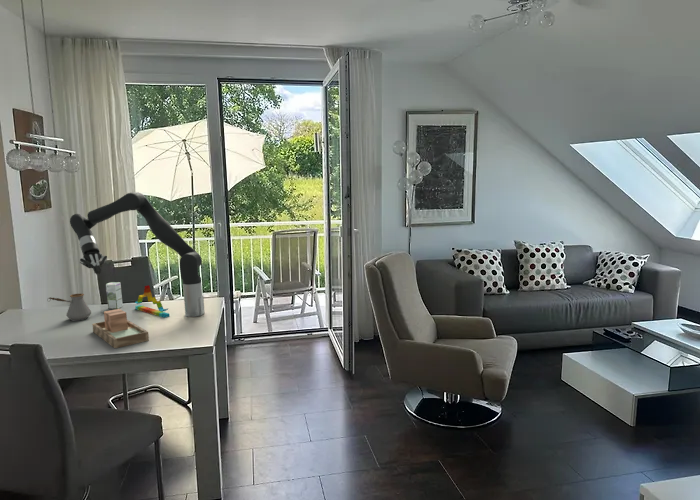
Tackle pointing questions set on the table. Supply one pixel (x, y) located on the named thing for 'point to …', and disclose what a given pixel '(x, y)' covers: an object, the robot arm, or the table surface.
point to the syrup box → (114, 295)
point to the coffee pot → (76, 307)
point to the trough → (122, 341)
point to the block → (115, 320)
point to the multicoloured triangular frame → (149, 310)
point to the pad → (124, 333)
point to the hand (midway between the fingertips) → (98, 273)
